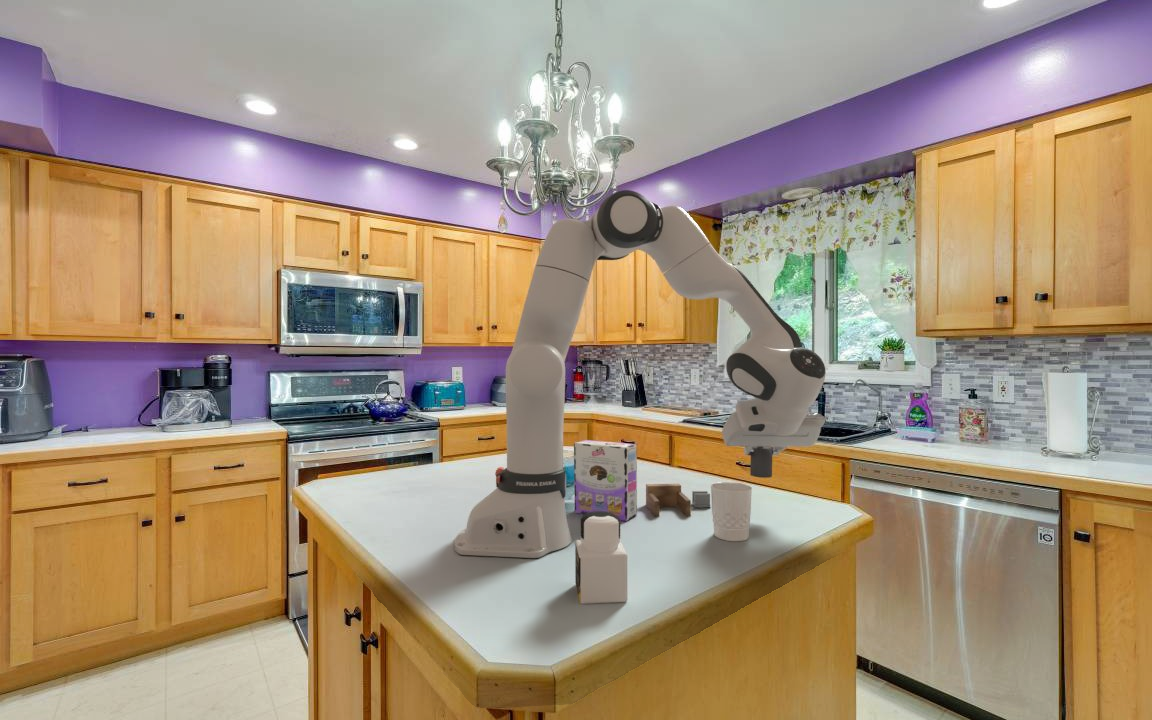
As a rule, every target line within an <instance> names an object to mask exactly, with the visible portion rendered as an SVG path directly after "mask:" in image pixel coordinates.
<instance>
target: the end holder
mask: <svg viewBox="0 0 1152 720" xmlns="http://www.w3.org/2000/svg"><path fill="white" fill-rule="evenodd" d="M645 506H646V507H647V506H648V507H647V508H648V510H649V511H650V510H651V511H650V513H652V515H653V516H654V517H655V518H656V517H657V518H658V517H659V518H660V507H659V506H670V507H677V506H678V507H679V508H680V509H681V510H680V509H679V508H678V507H677V508H678V509H679V510H680V511H681V513H683V514H684V515H685V517H691V516H692V513H691V511H692V508H691V507H692V499H690V498H689V497H687V496H686V495H685V494H684V493H683V492H682V485H681V484H680V483H650V484H649V483H648V484H645Z"/></svg>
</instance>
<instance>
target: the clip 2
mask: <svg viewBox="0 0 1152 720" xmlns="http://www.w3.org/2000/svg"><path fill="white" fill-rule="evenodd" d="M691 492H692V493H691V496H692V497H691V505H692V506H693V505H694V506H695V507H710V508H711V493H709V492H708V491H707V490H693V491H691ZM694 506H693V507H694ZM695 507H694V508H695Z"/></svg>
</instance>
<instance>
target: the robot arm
mask: <svg viewBox="0 0 1152 720" xmlns="http://www.w3.org/2000/svg"><path fill="white" fill-rule="evenodd" d="M637 250H639V251H641V252H643V253H645V254H646V255H648V256H649V257H651V259H652V260H654V262H655V263H656V265H657V267H658V269H659V270H660V272H661V274H662V275H663V277H664V278H665V280H666V281H667V283H668V285H669V286H670V287H671V288H672V289H673V291H675V292H676V294H678V295H679V296H680V297H683V298H685V299H690V300H698V301H699V300H707V299H715V298H716V299H721V300H723V301H726V302H727V303H728V304H729V305H730V306H731V307H732V309H734V311H735V312H736V313H737V315H738V316H739V317H740V318H741V319H742V321H743V322H744V323H745V324H746V325H747V326H748V328H749V330H750V337H749V338H748V339H747V340H746V341H745V342H744V343H742V344H740V346H739V347H738V348H736V349H735V351H734V352H733V353H731V355H730V356H728V358H727V360H726V364H725V368H726V369H725V370H726V373H727V374H726V375H727V376H728V378H729V380H730V383H731V384H733V386H734V387H736V388H737V389H738V390H740V391H741V392H743V393H745V394H747V395H748V396H752V397H753V398H751V399H746V400H741V401H739V402H737V403H736V404H735V411H734V412H732V413H731V414H730V415H729V416H728V418H727V419H726V420H725V422H724V425H723V428H722V429H721V437H722V440H723V442H724V444H725V446H726V447H743V453H744V456H751V455H752V454H753V452H754V450H753V449H752V448H753V447H752V446H764V447H770V448H772V456H779V454H781V452H783V451H784V450H786V449H788V447H792V448H793V447H794V448H796V447H797V448H799V447H804V448H807V447H809V448H810V447H812V446H814V445H815V444H816V443H817V441H818V439H819V438H820V433H821V432H822V431H821V429H822V427H824V424H825V423H826V417H825V416H823V415H822V414H821V413H809V407H811V406H812V405H813V404H814V403H815V402H816V399H817V398H818V396H819V394H820V392H821V390H822V387H823V385H824V382H825V378H826V375H827V374H826V366H825V363H824V361H823V359H822V358H821V357H820V355H818V354H817V353H816V352H814V351H813V350H811V349H809V348H806V347H802V342H801V338H800V336H799V334H798V332H797V331H796V330H795V328H793V327H792V326H791V325H790V324H789V323H787V322H786V321H785V320H784V319H783V318H781V317H780V316H779V314H778V313H776V312H775V310H774V309H773V308H772V307H771V305H770V304H769V302H767V301H766V300H765V298H764V297H763V296H762V294H760V292H759V291H758V289H756V287H755V285H753V284H752V282H751V281H750V279H748V278H747V276H746V275H745V274H744V273H743V272H742V271H741V270H740V269H739V268H738V267H737V266H735V265H733V264H731V263H729V262H727V261H726V260H725V259H724V258H723V257H722V256H721V255H720V254H719V253H718V251H716V249H715V248H714V246H713V244H712V243H711V242H710V241H709V239H708V237H707V236H706V235H705V233H704V232H703V230H702V229H701V228H700V226H699V225H698V224H697V223H696V221H695V220H694V219H693V218H692V217H691V216H690V215H689V213H687V212H686V211H685V210H684V209H683V208H681V207H680V206H677V205H667V206H664V207H660V206H659V205H658V204H656V203H655V202H652V201H651V200H649V199H648V198H646V197H645V196H644V195H643V194H641V193H640V192H637V191H634V190H632V189H630V190H629V189H623V190H618V191H615V192H613V193H611V194H610V195H608V196H607V197H606V198H605V199H604V200H602V202H601V204H600V206H599V207H598V208H597V209H596V210H595V212H594V214H593V215H592V216H591V218H590V219H587V220H582V221H581V220H579V219H576V218H562V219H559V220H557V221H556V222H554V223H553V224H552V225H551V228H550V229H549V231H548V233H547V235H546V237H545V239H544V241H543V243H542V246H541V249H540V251H539V254H538V256H537V260H536V262H535V266H534V270H533V273H532V277H531V279H530V283H529V285H528V286H529V287H528V290H527V294H526V297H525V301H524V304H523V308H522V313H521V316H520V320H519V323H518V326H517V327H518V328H517V331H516V335H515V339H514V343H513V346H512V349H511V352H510V355H509V356H508V358H507V361H506V365H505V408H506V411H505V412H506V416H505V417H506V418H505V419H506V468H504V467H503V466H499V467H498V468H496V469H495V472H494V473H495V487H496V488H495V489H494V490H493V491H492V492H490V493H489V494H488V495H486V496H485V497H484V498H483V499H481V500H480V501H479V502H477V503H476V504H475V505H474V507H473V508H472V509H471V511H470V513H469V516H468V517H467V518H468V519H467V524H466V528H464V529H462V530H461V531H460V532H459V533H458V534H457V535H456V537H455V539H454V545H453V546H454V551H455V552H456V553H457V554H459V555H462V556H479V557H480V556H484V557H501V558H502V557H504V558H505V557H506V558H527V559H536V558H537V559H538V558H542V557H543V556H546V555H547V554H549V553H551V552H554V551H558V550H561V549H564V548H566V547H567V546H568V545H570V544H571V543H572V541H573V538H572V535H571V530H570V528H569V524H568V519H567V518H568V517H567V511H566V510H567V509H566V504H565V502H566V501H565V498H566V493H567V474H566V468H565V467H564V420H565V400H566V399H565V398H566V365H565V364H566V359H567V355H568V352H569V349H570V345H571V343H572V339H573V337H574V334H575V332H576V329H577V328H576V327H577V325H578V322H579V319H580V317H581V312H582V308H583V306H584V301H585V298H586V294H587V291H588V289H589V287H588V286H589V284H590V281H591V276H592V272H593V270H594V267H595V265H596V262H597V261H617V260H621V259H624V258H626V257H628V256H629V255H630V254H632V253H634V252H635V251H637Z"/></svg>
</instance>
